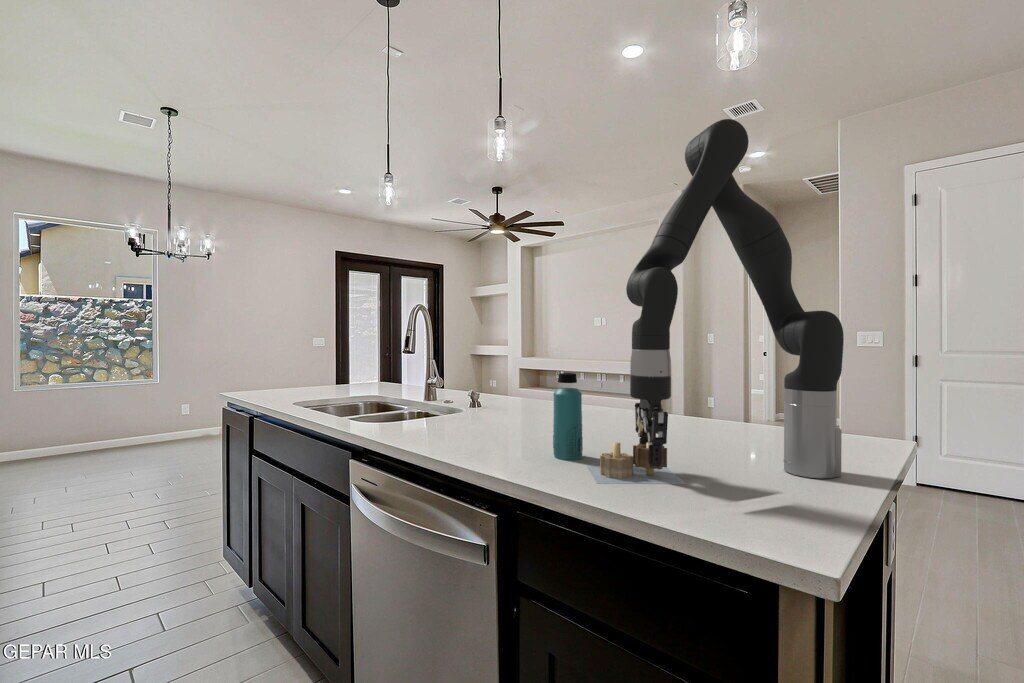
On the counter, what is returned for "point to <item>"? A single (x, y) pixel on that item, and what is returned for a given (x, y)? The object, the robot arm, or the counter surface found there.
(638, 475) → the gear board
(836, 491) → the counter surface
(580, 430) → the beverage bottle
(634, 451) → the walnut gear
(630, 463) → the beech gear
